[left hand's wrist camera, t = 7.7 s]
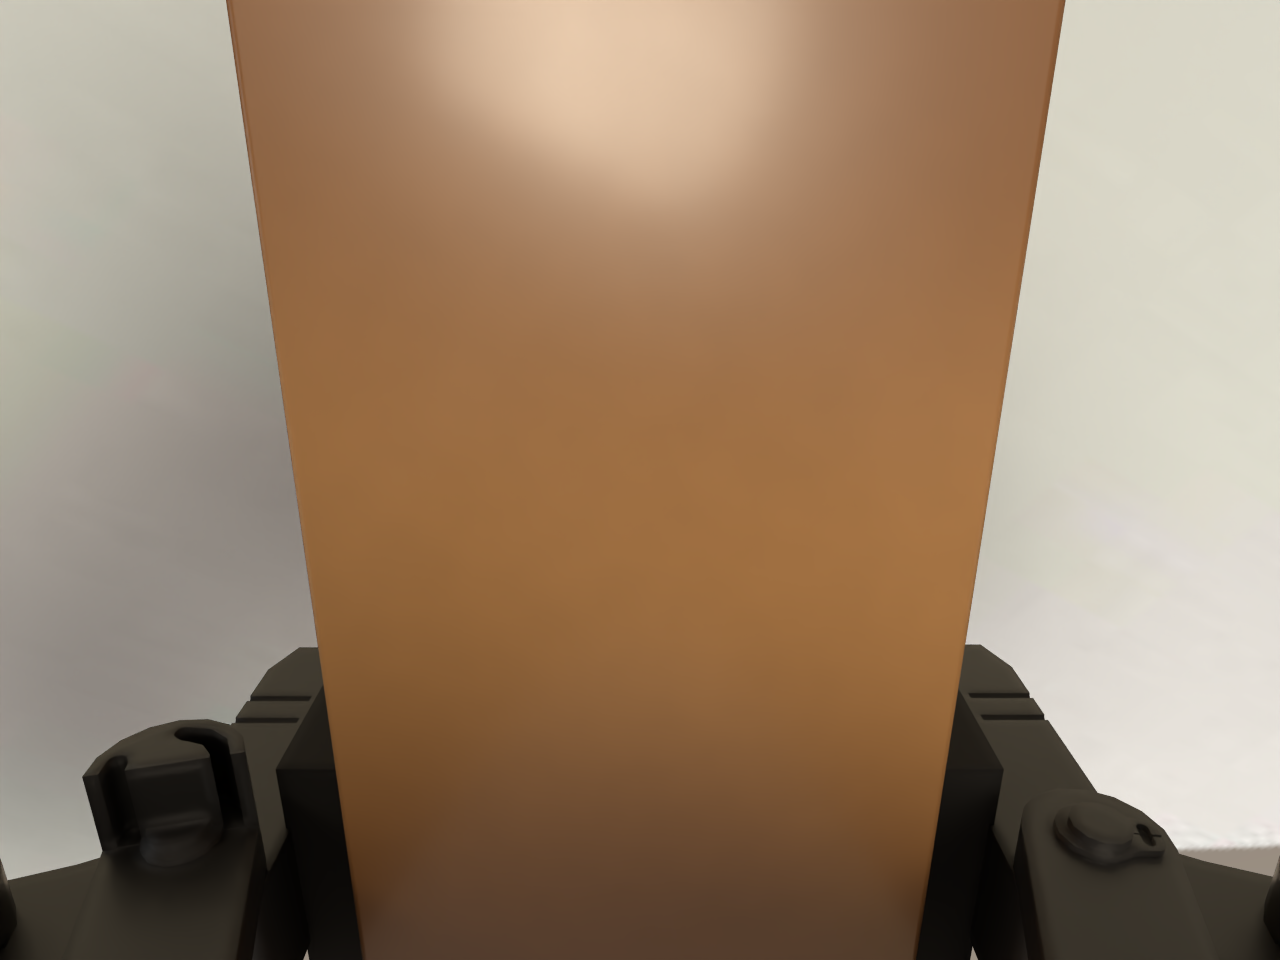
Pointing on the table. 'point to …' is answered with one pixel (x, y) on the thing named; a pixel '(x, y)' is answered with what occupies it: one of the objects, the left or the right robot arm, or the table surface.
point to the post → (642, 447)
